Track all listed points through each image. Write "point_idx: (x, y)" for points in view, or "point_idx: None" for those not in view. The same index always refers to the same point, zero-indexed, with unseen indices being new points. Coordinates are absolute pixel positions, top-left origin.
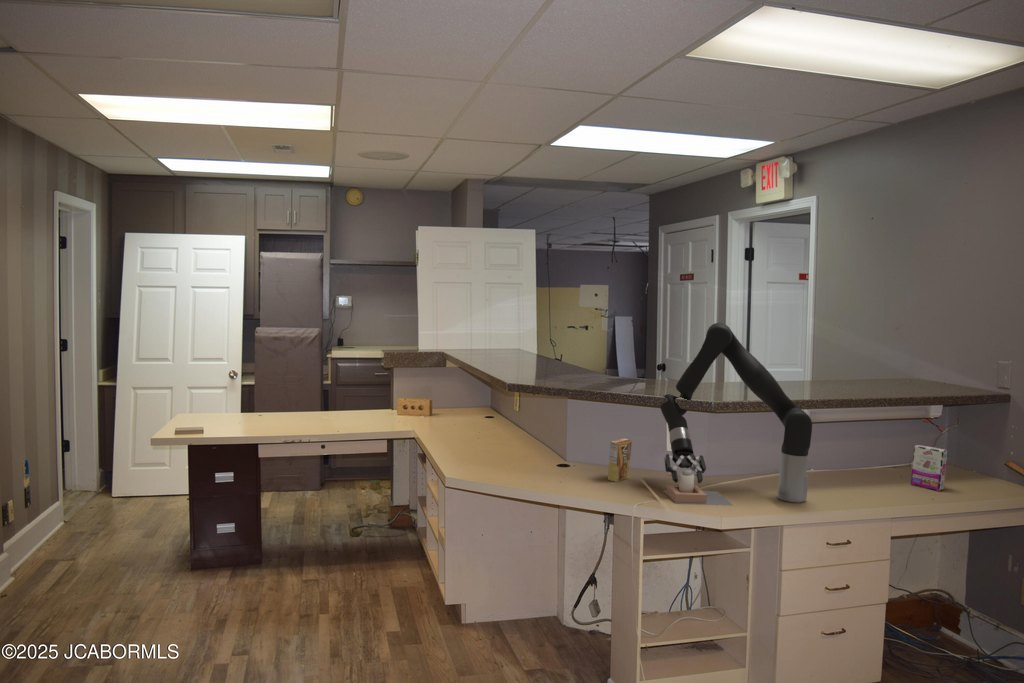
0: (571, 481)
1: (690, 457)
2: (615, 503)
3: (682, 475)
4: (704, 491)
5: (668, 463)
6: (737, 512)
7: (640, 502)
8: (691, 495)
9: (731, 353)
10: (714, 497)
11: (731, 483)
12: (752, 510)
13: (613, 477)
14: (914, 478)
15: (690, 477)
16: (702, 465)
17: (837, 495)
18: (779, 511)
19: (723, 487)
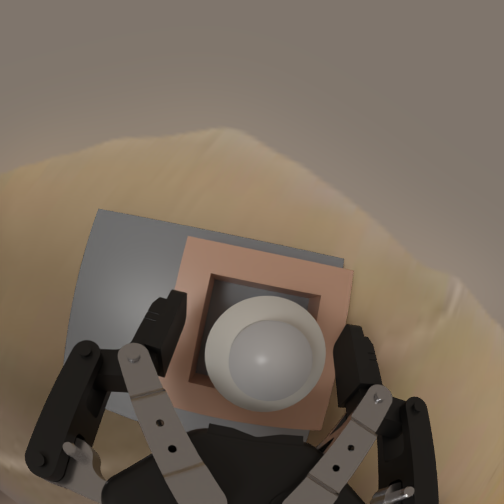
0: (477, 486)
1: (183, 493)
2: (487, 318)
3: (322, 334)
4: (110, 406)
5: (422, 438)
6: (119, 175)
7: (434, 329)
8: (271, 255)
9: None
10: (108, 320)
11: (4, 449)
12: (61, 192)
13: None
14: None
15: (267, 297)
16: (86, 381)
17: None
18: (13, 182)
19: (28, 437)
